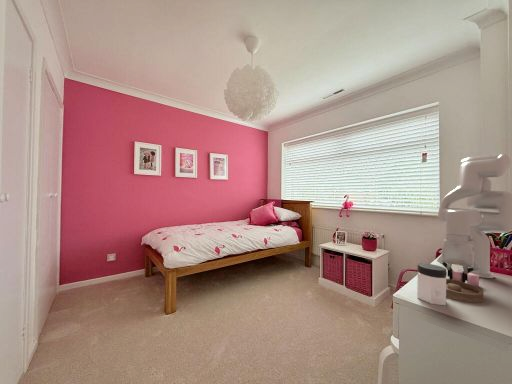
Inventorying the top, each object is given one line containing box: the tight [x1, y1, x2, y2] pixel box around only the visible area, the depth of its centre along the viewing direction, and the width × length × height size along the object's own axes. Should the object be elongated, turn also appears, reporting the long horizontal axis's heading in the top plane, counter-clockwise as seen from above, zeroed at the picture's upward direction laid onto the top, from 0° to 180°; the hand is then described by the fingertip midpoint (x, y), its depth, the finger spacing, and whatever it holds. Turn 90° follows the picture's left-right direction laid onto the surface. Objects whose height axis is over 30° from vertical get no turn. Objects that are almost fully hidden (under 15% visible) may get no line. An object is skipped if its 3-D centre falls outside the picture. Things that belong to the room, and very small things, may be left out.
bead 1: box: [452, 269, 463, 282], centre depth 91 cm, size 4×4×4 cm
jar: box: [416, 262, 448, 306], centre depth 76 cm, size 9×8×12 cm
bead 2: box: [466, 273, 480, 288], centre depth 91 cm, size 4×4×4 cm
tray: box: [446, 278, 485, 304], centre depth 83 cm, size 16×16×3 cm
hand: (457, 279), depth 91 cm, fingers closed on bead 1, 3 cm apart
